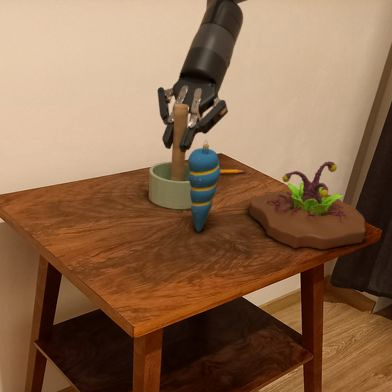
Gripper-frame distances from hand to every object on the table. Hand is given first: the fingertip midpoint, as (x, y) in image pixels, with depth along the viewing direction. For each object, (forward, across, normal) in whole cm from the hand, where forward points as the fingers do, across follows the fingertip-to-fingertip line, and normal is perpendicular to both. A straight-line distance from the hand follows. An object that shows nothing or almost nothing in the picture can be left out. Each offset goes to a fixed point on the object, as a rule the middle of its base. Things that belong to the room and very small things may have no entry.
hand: (174, 147), depth 94 cm
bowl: (+6, 0, +8) cm, 10 cm away
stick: (+4, 0, +7) cm, 9 cm away
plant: (+3, +25, +11) cm, 27 cm away
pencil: (-5, -1, +19) cm, 20 cm away
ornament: (+13, +9, +1) cm, 16 cm away
